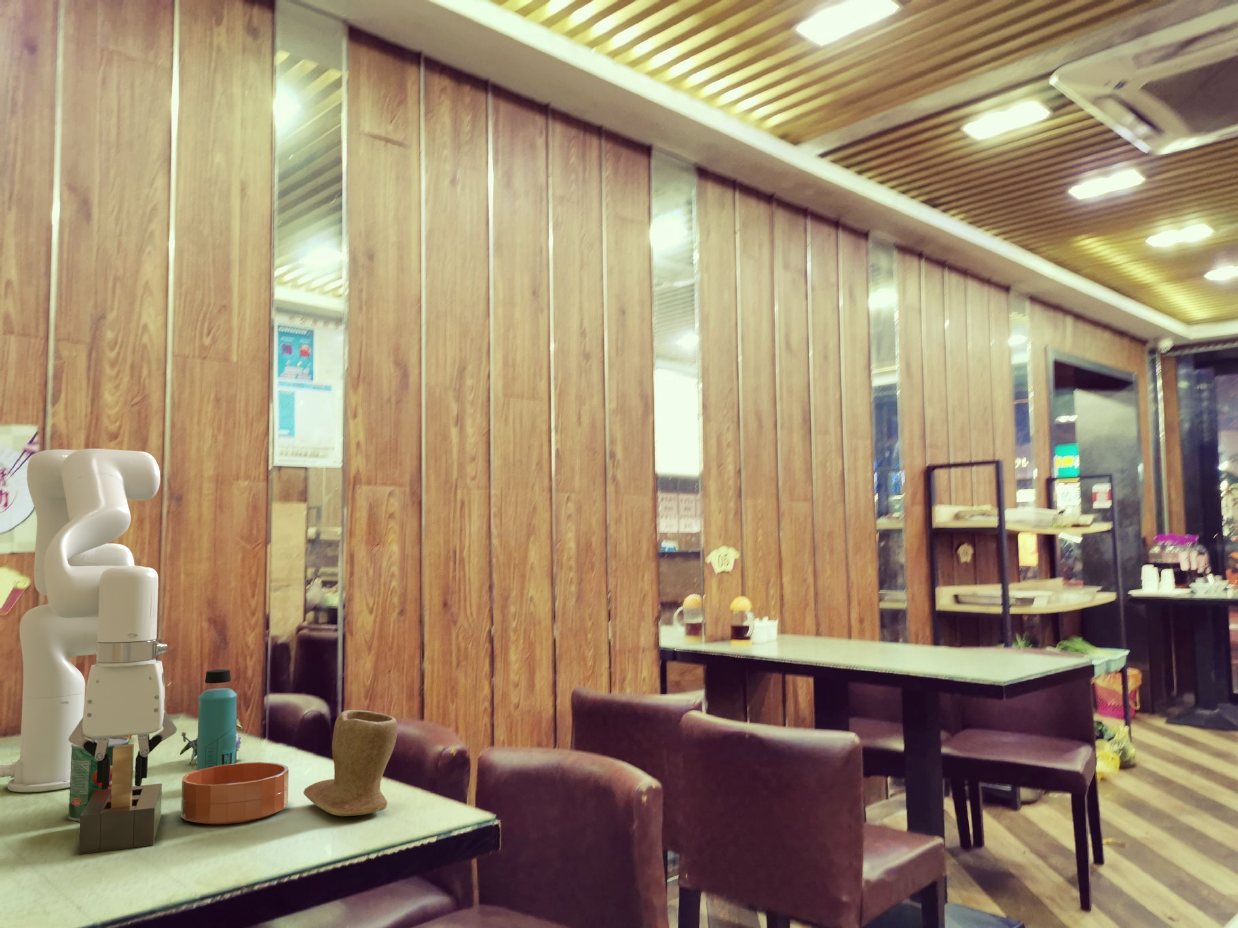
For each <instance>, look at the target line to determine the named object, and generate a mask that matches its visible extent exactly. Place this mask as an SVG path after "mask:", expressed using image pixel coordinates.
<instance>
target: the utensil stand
mask: <svg viewBox="0 0 1238 928" xmlns="http://www.w3.org/2000/svg"><path fill="white" fill-rule="evenodd" d="M162 791H163V783H152V784H151V783H150V784H143V785H142V784H141V786H135V785H133V786H132V806H130V807H120V808H111V792H112V788H110V789H106V790H101V789H100V790H95V791H94V793H93V795H92V797H91V798H90V800H89V802H88V803H87V805H86V807H85V809H84V810H83V812H82V814H81V815H80V821H79V828H78V829H79V831H78V855H84V854H93V853H99V852H100V853H101V852H108V851H116V850H124V849H133V848H141V847H150V846H154V844H155V841H156V836H157V833H158V829H159V826H160V823H161V822H160V821H161V817H162V798H163V797H162V793H163V792H162Z"/></svg>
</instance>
